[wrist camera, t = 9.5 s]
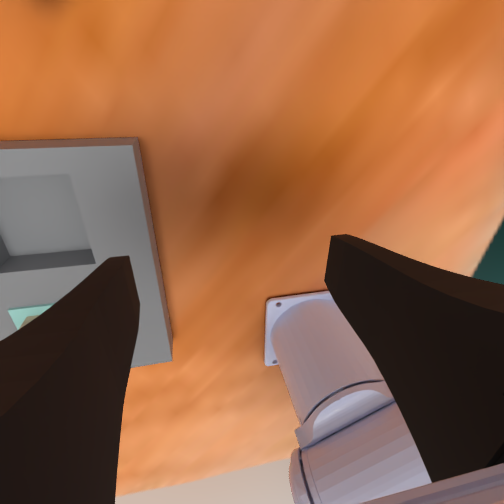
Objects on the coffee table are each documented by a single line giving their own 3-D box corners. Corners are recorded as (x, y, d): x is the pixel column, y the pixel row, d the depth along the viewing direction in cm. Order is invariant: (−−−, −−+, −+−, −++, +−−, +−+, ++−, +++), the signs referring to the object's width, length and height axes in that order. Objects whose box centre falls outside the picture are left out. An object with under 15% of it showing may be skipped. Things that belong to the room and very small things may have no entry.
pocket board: (137, 137, 17) (131, 145, 15) (172, 337, 25) (172, 363, 23) (-111, 144, 15) (-163, 155, 13) (12, 361, 23) (-6, 392, 21)
